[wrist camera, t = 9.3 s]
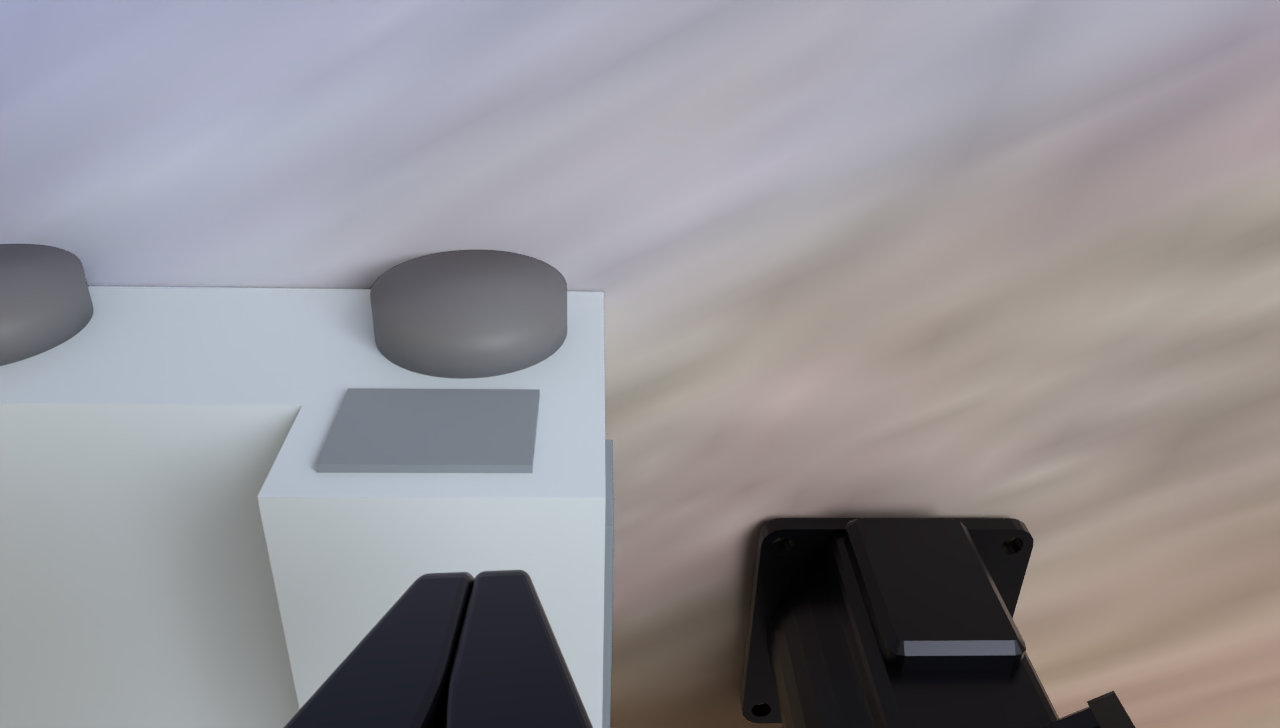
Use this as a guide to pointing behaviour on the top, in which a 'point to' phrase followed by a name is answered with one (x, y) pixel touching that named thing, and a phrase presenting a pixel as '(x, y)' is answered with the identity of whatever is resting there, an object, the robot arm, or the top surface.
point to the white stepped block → (285, 479)
